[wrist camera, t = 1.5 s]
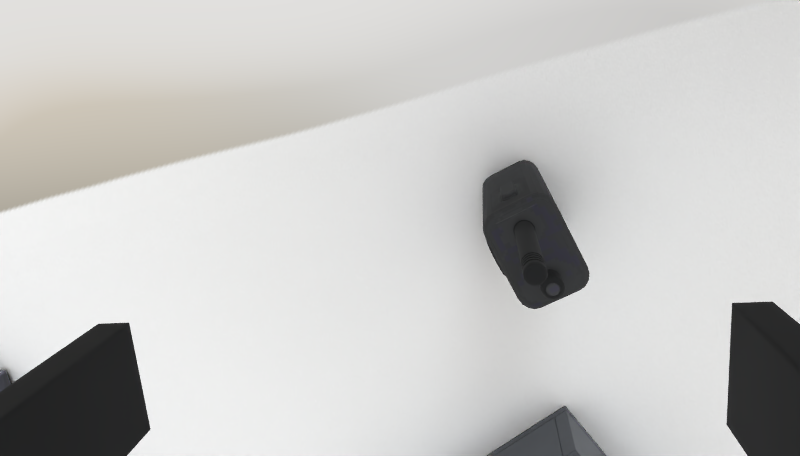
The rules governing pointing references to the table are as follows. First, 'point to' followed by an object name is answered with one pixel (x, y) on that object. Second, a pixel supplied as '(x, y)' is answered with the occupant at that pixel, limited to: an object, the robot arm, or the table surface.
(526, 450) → the organizer
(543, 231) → the walkie-talkie
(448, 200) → the table surface
